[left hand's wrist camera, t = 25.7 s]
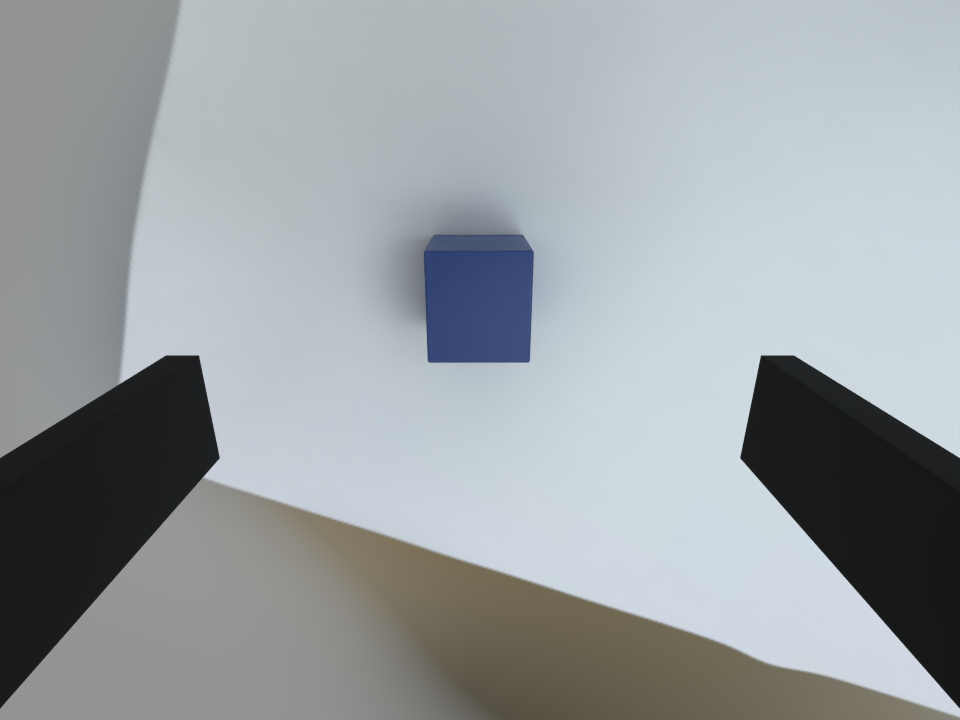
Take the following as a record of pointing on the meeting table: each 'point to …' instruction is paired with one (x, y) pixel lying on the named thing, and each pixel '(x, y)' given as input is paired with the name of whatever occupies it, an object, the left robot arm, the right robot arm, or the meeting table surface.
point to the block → (478, 298)
